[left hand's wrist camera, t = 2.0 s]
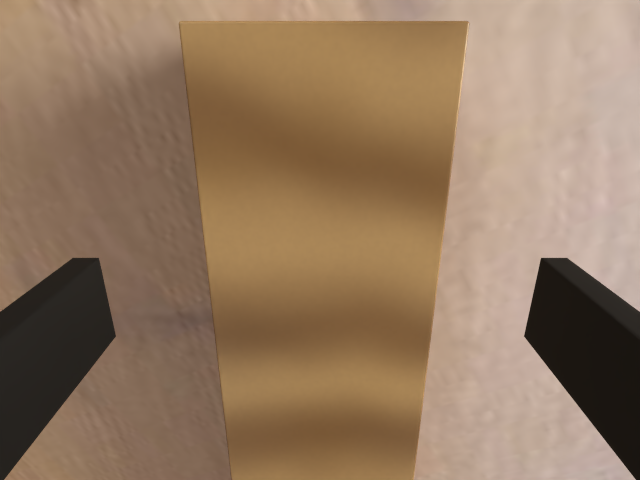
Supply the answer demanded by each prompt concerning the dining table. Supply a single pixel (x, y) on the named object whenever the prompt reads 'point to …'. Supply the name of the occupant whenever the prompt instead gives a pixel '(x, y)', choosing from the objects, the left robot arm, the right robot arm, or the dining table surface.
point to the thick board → (323, 232)
